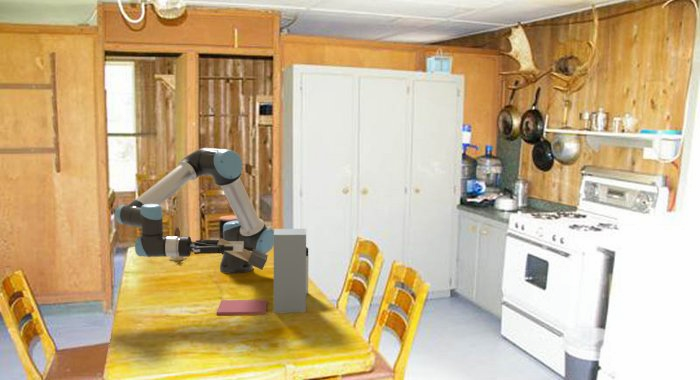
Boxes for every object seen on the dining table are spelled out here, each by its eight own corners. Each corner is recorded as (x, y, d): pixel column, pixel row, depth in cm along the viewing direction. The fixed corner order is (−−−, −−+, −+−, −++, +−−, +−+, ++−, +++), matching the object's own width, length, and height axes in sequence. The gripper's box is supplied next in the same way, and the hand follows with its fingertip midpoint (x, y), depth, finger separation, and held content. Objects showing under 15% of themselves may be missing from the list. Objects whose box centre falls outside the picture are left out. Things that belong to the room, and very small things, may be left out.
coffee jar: (216, 252, 299) (216, 218, 296) (224, 247, 309) (223, 214, 306) (236, 253, 297) (235, 219, 294) (243, 248, 308) (242, 215, 305)
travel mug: (301, 290, 242) (301, 244, 239) (311, 294, 237) (311, 247, 234) (289, 293, 238) (289, 246, 235) (299, 297, 233) (299, 249, 230)
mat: (221, 302, 225) (221, 300, 225) (267, 302, 227) (267, 299, 227) (216, 314, 213) (216, 312, 212) (265, 314, 214) (265, 311, 214)
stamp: (218, 243, 219) (222, 234, 219) (263, 264, 222) (267, 255, 221) (215, 248, 211) (219, 239, 211) (262, 269, 214) (266, 260, 213)
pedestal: (274, 303, 226) (274, 228, 221) (305, 302, 227) (305, 228, 222) (273, 312, 216) (273, 234, 211) (305, 312, 217) (306, 234, 212)
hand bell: (173, 256, 291) (172, 225, 288) (189, 257, 290) (188, 226, 287) (166, 260, 283) (165, 228, 280) (182, 261, 282) (181, 229, 279)
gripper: (184, 250, 223) (245, 250, 225) (174, 262, 206) (240, 262, 208) (183, 231, 222) (245, 231, 224) (174, 242, 205) (240, 242, 207)
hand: (242, 246), depth 216 cm, fingers closed on stamp, 3 cm apart
